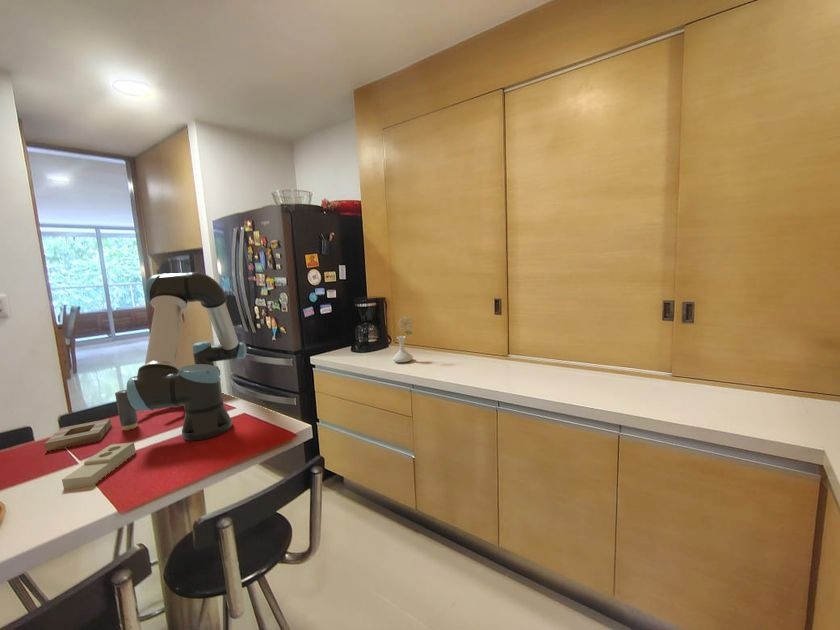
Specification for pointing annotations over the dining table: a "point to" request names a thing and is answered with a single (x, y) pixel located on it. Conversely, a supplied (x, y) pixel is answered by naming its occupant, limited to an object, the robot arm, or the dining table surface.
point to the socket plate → (78, 434)
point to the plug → (126, 411)
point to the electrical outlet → (99, 465)
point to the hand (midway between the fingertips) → (144, 400)
